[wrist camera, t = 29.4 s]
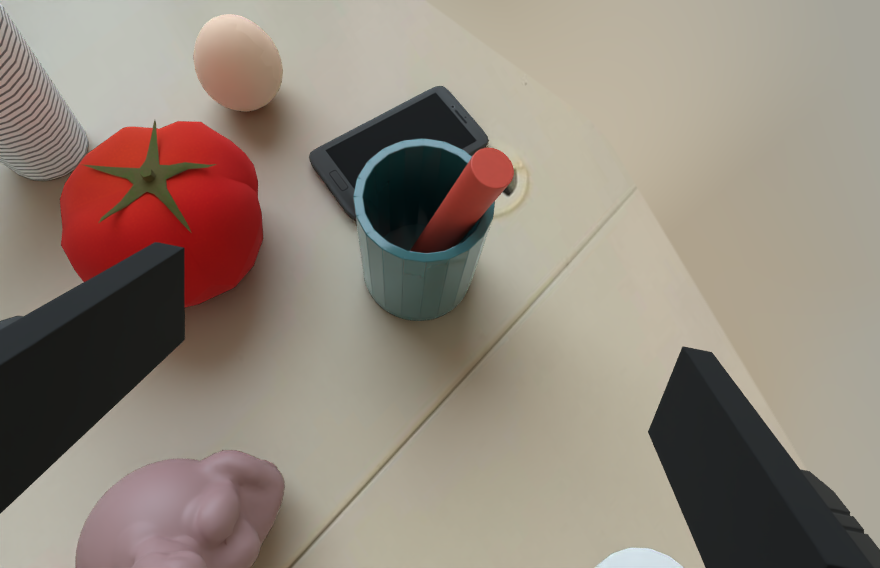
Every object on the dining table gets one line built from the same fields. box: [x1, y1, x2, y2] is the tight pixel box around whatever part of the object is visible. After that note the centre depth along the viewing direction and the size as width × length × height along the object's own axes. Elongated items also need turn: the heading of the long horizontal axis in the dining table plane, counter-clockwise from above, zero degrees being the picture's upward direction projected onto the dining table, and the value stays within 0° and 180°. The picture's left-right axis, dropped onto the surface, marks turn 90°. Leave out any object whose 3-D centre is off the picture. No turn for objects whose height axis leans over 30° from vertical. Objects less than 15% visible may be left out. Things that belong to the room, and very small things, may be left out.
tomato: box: [60, 121, 263, 308], centre depth 38 cm, size 13×12×11 cm
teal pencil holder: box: [353, 138, 495, 321], centre depth 38 cm, size 8×8×11 cm
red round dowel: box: [410, 148, 514, 253], centre depth 36 cm, size 2×2×15 cm
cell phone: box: [309, 86, 488, 220], centre depth 47 cm, size 7×14×1 cm, turn 126°
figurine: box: [76, 450, 285, 568], centre depth 30 cm, size 9×11×12 cm
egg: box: [193, 14, 283, 111], centre depth 44 cm, size 7×7×8 cm
